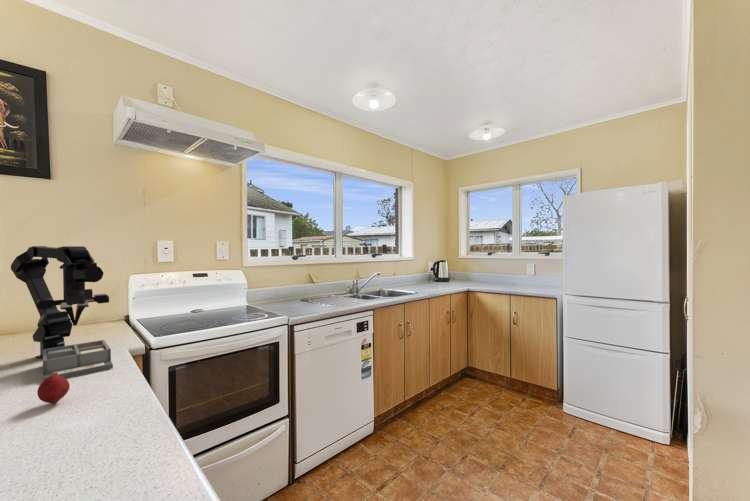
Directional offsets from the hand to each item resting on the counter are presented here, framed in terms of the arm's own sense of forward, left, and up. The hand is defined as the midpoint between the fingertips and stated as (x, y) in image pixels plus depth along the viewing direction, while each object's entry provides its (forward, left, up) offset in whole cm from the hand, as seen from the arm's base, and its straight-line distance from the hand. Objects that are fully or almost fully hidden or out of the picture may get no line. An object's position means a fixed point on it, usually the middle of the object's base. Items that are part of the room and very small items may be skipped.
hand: (75, 325), depth 117 cm
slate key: (+2, -7, -9) cm, 11 cm away
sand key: (+13, -5, -9) cm, 16 cm away
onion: (+29, -30, -12) cm, 43 cm away
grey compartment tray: (+9, -7, -12) cm, 17 cm away
